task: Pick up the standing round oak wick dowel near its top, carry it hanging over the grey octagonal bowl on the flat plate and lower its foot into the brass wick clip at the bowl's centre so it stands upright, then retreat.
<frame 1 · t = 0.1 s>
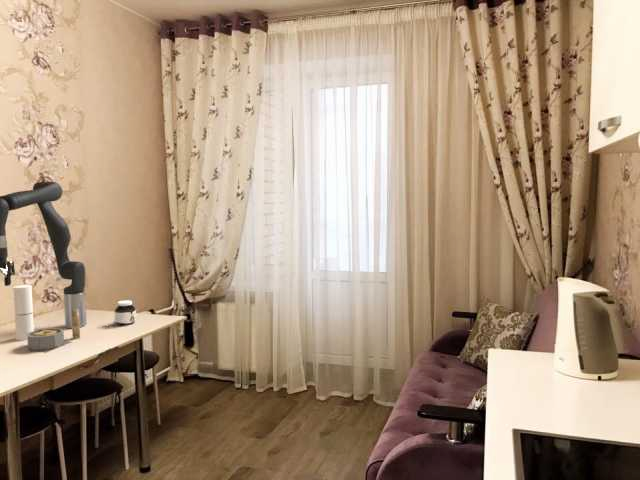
cylindrical container: (25, 340, 230), on the table
spread jar: (125, 323, 260), on the table
grey octagonal bowl: (46, 345, 218), resting on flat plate
wick: (76, 339, 230), on the table
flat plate: (46, 347, 218), on the table
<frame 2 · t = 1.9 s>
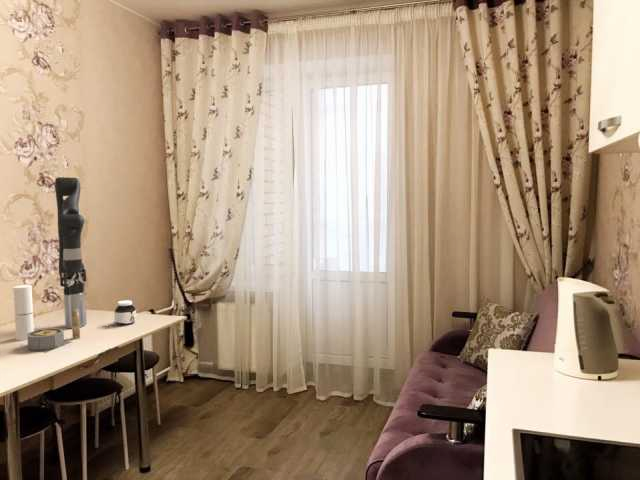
hand: (74, 293, 228), 22 cm above the table, fingers open, 8 cm apart
nothing on the table moved.
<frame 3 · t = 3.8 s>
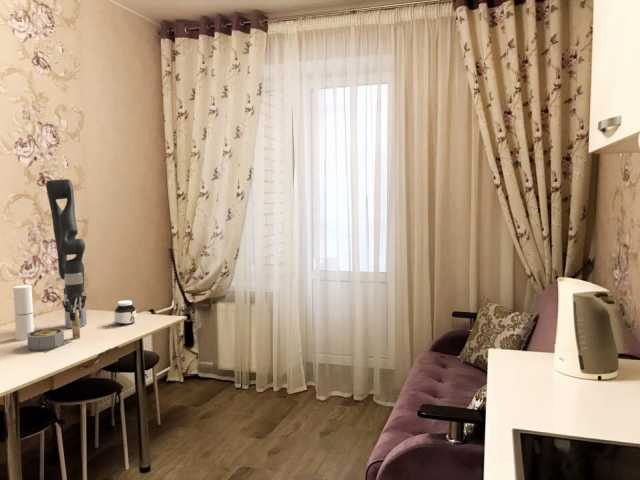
hand: (75, 319, 229), 10 cm above the table, fingers closed on wick, 3 cm apart
wick: (76, 339, 230), on the table, touching gripper
everything else where it was.
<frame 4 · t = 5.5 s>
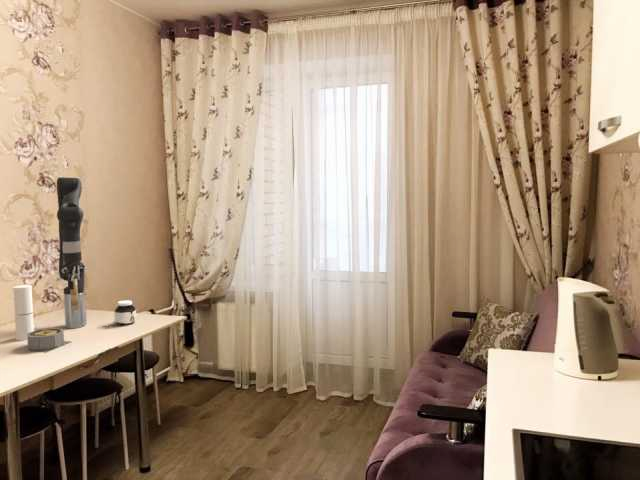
hand: (73, 288, 227), 24 cm above the table, fingers closed on wick, 3 cm apart
wick: (74, 309, 228), point 14 cm above the table, touching gripper
everything else where it was.
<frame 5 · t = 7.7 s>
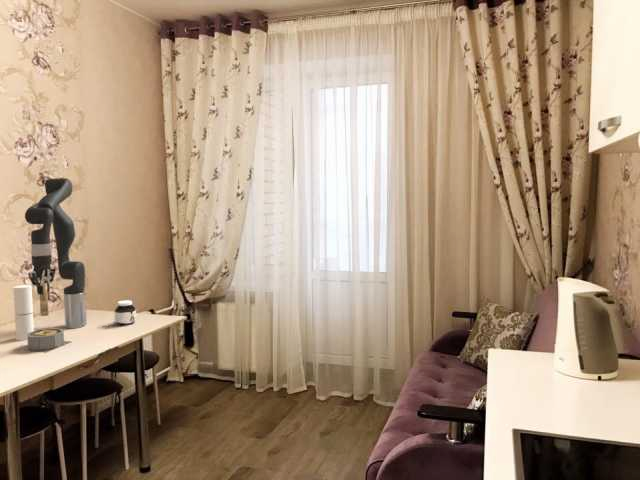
hand: (43, 293, 216), 24 cm above the table, fingers closed on wick, 3 cm apart
wick: (44, 315, 217), point 14 cm above the table, touching gripper
everything else where it was.
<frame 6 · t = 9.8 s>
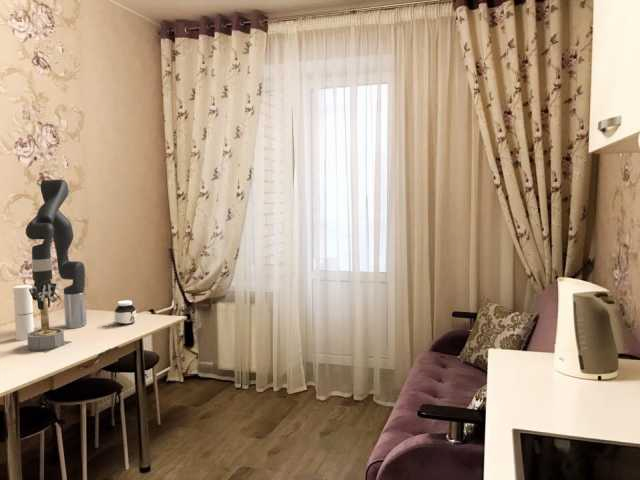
hand: (44, 308, 217), 18 cm above the table, fingers closed on wick, 3 cm apart
wick: (45, 329, 217), point 8 cm above the table, touching gripper
everything else where it was.
when the fingers open (12 cm above the table, at t = 11.6 s): wick stays where it is, resting on grey octagonal bowl.
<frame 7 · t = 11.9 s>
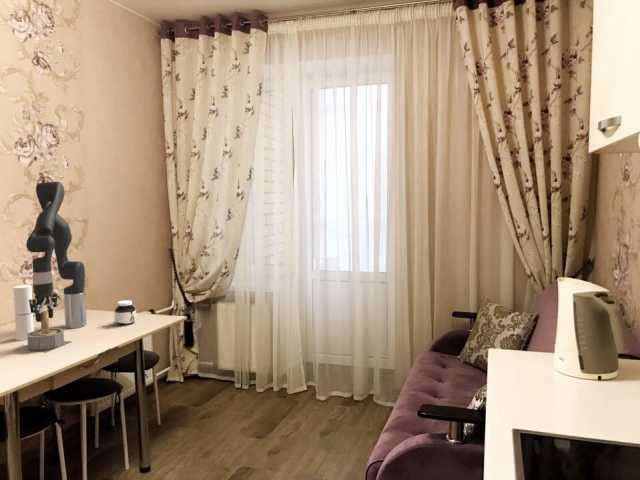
hand: (44, 319, 217), 12 cm above the table, fingers open, 6 cm apart
wick: (46, 343, 218), point 2 cm above the table, touching grey octagonal bowl
everything else where it was.
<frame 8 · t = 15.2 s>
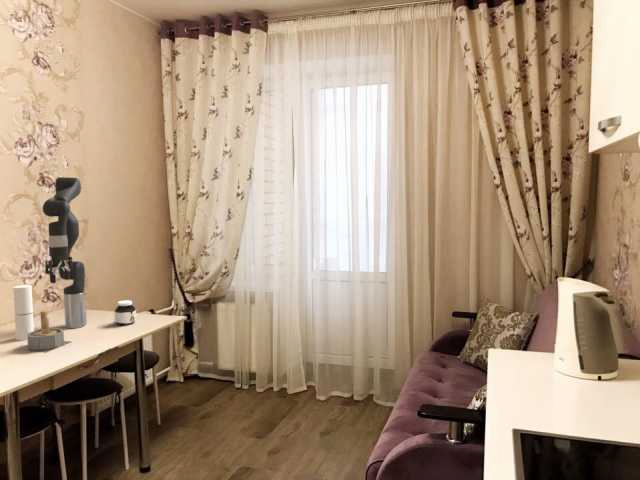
hand: (60, 281, 223), 28 cm above the table, fingers open, 8 cm apart
nothing on the table moved.
at the end: wick 0.0 cm off-centre on the grey octagonal bowl, point 1.0 cm above the grey octagonal bowl's base; wick tilted 0°; the gripper is holding nothing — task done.
